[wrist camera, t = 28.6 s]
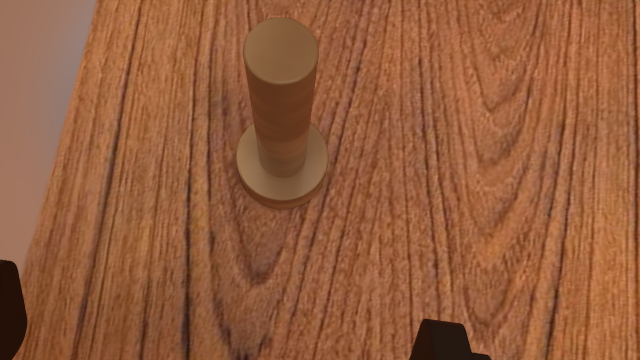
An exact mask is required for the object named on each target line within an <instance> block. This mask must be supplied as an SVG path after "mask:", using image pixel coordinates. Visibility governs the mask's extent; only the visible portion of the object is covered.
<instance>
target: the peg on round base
mask: <svg viewBox="0 0 640 360" xmlns="http://www.w3.org/2000/svg"><path fill="white" fill-rule="evenodd" d="M243 56H244V63H245V69H246V75H247V82H248V88H249V95H250V101H251V107H252V114H253V120H254V123H253V124H251V125H250V126H249V127H248V128H247V129H246V130H245V132H244V133H243V135H242V137H241V138H240V140H239V143H238V146H237V151H236V163H237V168H238V171H239V174H240V178H241V180H242V183H243V185H244V187H245V189H246V190H247V192H248V193H249V194H250V195H251V197H252V198H254V199H255V200H256V201H258V202H259V203H261V204H263V205H265V206H267V207H271V208H275V209H290V208H295V207H298V206H300V205H302V204H304V203H306V202H307V201H309V200H310V199H311V198H312V197H314V196H315V194H316V193H317V192H318V191H319V189H320V187H321V185H322V183H323V181H324V177H325V174H326V170H327V166H328V148H327V144H326V142H325V139H324V137H323V136H322V134H321V132H320V131H319V130H318V129H317V128H316V127H315V126H314V125H313V124H312V123H311V122H310V119H311V111H312V104H313V96H314V88H315V80H316V72H317V64H318V56H319V49H318V44H317V41H316V39H315V37H314V35H313V34H312V32H311V31H310V30H309V29H308V28H307V27H306V26H305V25H303V24H302V23H300V22H298V21H296V20H293V19H290V18H281V17H279V18H271V19H268V20H265V21H263V22H261V23H259V24H258V25H256V26H255V27H254V28H253V29H252V30H251V31H250V33H249V34H248V36H247V37H246V40H245V42H244V46H243Z"/></svg>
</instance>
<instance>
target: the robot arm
mask: <svg viewBox="0 0 640 360" xmlns="http://www.w3.org/2000/svg"><path fill="white" fill-rule="evenodd" d="M26 329H27V315H26V310H25V304H24V299H23V294H22V289H21V284H20V279H19V273H18V269H17V266H16V264H15V263H13V262H12V261H7V260H0V360H12V359H13V357H14V356H15V355H16V353H17V352H18V350H19V348H20V347H21V345H22V342H23V340H24V337H25V334H26ZM409 360H491V358H490V357H489V356H488V355H486V354H478V353H472V352H471V348H470V344H469V341H468V337H467V333H466V330H465V327H464V326H463V324H461V323H453V322H446V321H439V320H431V319H423V321H422V322H421V325H420V328H419V331H418V334H417V337H416V340H415V343H414V346H413V349H412V353H411V356H410V359H409Z"/></svg>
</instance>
